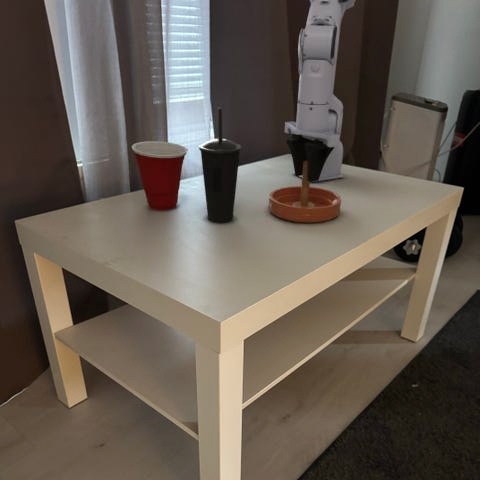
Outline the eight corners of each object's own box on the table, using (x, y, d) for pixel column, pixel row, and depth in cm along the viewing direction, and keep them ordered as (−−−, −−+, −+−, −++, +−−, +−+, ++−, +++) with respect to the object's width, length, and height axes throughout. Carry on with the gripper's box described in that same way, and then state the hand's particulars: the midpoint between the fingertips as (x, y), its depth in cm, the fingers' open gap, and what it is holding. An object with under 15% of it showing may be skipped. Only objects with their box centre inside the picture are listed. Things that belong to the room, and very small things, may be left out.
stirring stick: (305, 204, 100) (310, 157, 95) (318, 210, 97) (323, 162, 92) (288, 207, 99) (291, 160, 94) (300, 214, 95) (305, 165, 90)
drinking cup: (247, 221, 93) (251, 109, 83) (214, 228, 89) (213, 113, 79) (225, 209, 99) (226, 103, 88) (193, 216, 95) (189, 106, 84)
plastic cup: (181, 217, 94) (177, 154, 88) (129, 212, 96) (122, 150, 90) (196, 200, 104) (194, 141, 97) (148, 196, 105) (143, 138, 99)
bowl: (311, 197, 107) (312, 183, 105) (353, 217, 96) (355, 201, 94) (255, 206, 100) (256, 191, 99) (294, 229, 90) (296, 212, 88)
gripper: (273, 98, 91) (269, 171, 98) (320, 109, 80) (312, 190, 88) (303, 96, 94) (298, 167, 101) (352, 107, 83) (342, 185, 91)
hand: (306, 177), depth 95 cm, fingers open, 4 cm apart
